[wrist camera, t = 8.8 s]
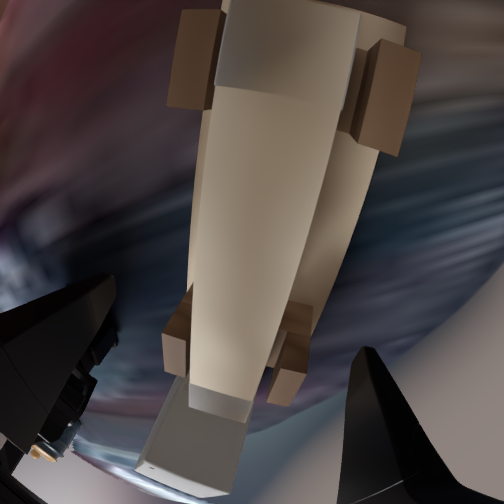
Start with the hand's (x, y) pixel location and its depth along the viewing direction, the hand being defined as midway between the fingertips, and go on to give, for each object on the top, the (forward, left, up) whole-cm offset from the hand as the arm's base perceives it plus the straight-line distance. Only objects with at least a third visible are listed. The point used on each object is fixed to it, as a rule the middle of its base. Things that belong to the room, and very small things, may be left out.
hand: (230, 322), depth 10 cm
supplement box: (-2, -20, -11) cm, 23 cm away
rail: (0, 0, -6) cm, 6 cm away
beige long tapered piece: (0, 0, -10) cm, 10 cm away
